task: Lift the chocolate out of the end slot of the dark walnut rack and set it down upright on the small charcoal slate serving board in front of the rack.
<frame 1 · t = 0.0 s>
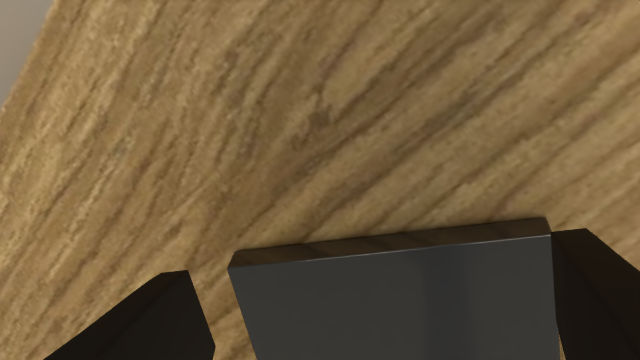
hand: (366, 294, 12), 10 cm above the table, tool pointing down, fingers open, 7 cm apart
board: (397, 314, 24), on the table
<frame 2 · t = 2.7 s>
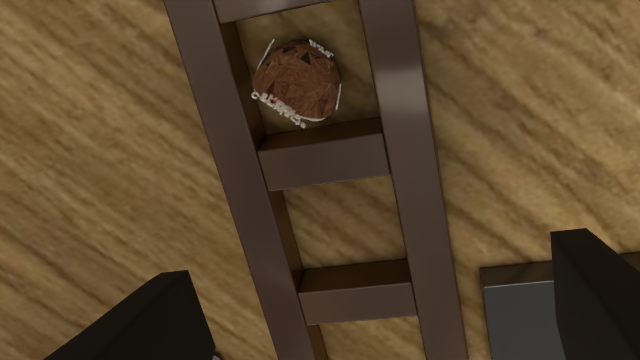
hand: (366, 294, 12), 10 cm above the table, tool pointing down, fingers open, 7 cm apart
rack: (345, 216, 23), on the table
chocolate: (311, 64, 21), resting in rack
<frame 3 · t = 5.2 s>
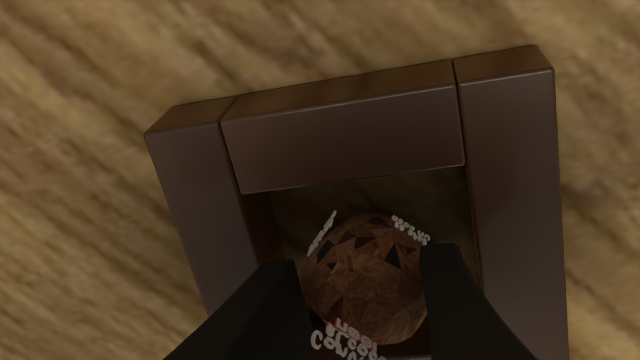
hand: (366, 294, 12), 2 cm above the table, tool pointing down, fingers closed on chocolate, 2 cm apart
chocolate: (384, 231, 14), resting in rack, touching gripper
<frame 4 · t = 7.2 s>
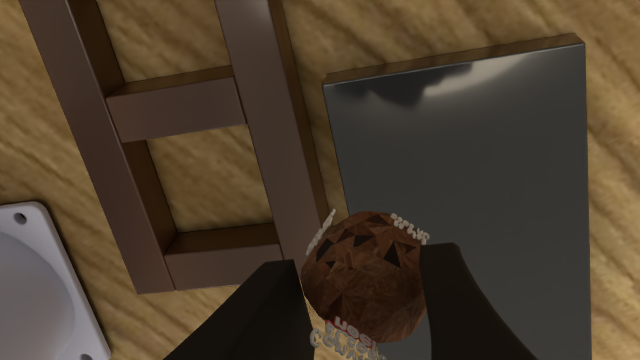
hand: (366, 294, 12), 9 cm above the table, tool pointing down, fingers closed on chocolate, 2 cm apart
rack: (164, 6, 19), on the table
board: (465, 220, 21), on the table
chocolate: (384, 229, 14), point 7 cm above the table, touching gripper
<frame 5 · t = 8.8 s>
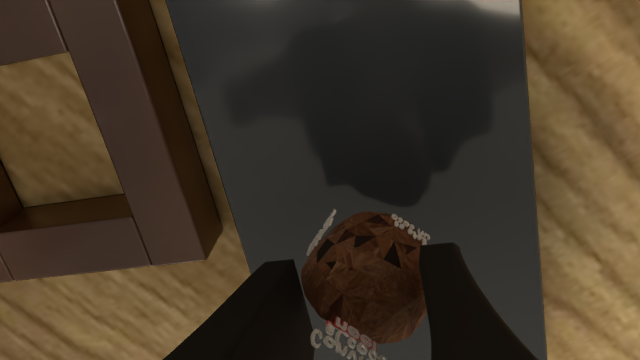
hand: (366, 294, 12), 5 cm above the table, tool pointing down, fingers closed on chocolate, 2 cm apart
board: (379, 185, 16), on the table
chocolate: (384, 230, 14), point 2 cm above the table, touching gripper
when the fingers open (3 cm above the table, at t = 9.6 s): chocolate stays where it is, resting on board.
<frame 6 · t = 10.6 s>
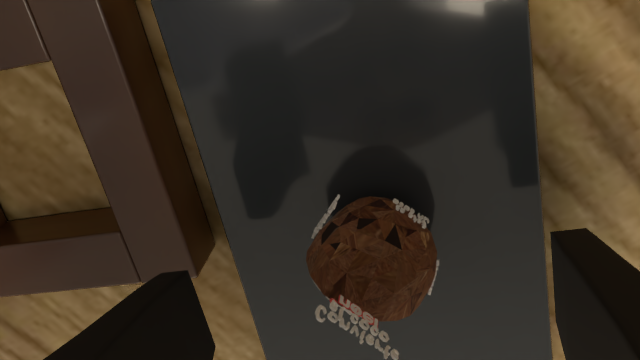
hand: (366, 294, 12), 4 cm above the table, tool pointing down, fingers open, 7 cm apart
board: (378, 199, 15), on the table
chocolate: (386, 215, 14), point 1 cm above the table, touching board
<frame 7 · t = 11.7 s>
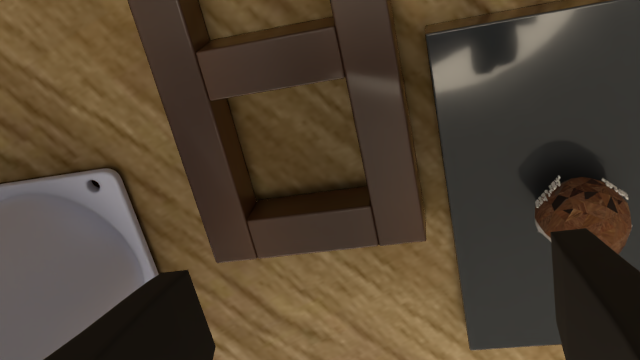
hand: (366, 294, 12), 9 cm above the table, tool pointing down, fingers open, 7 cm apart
board: (562, 181, 20), on the table
chocolate: (578, 192, 19), point 1 cm above the table, touching board
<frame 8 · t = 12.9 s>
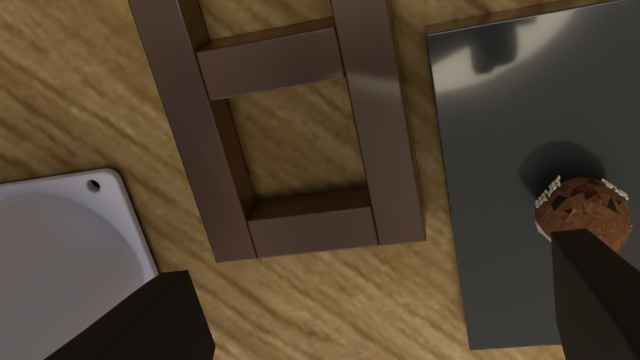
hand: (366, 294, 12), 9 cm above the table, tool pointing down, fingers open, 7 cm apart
board: (562, 181, 20), on the table
chocolate: (578, 193, 19), point 1 cm above the table, touching board
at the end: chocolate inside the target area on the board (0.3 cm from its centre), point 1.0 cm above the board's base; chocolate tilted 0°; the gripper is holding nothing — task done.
